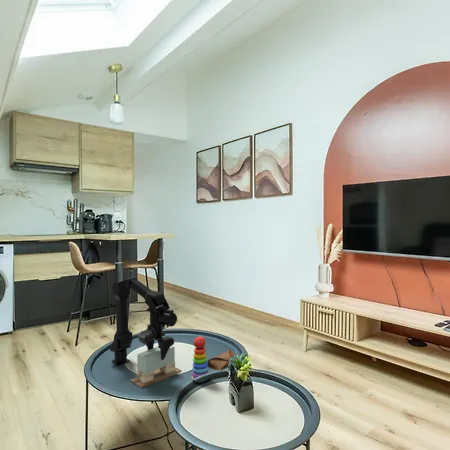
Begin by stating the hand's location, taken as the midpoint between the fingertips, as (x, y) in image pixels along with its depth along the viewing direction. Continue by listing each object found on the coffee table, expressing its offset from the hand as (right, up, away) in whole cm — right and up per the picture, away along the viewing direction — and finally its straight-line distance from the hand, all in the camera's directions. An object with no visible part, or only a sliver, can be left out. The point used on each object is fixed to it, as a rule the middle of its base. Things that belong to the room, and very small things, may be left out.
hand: (156, 357), depth 148 cm
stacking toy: (+20, -9, -4) cm, 22 cm away
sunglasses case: (+30, -9, +14) cm, 35 cm away
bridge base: (0, -9, 0) cm, 9 cm away
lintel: (0, -4, 0) cm, 4 cm away
